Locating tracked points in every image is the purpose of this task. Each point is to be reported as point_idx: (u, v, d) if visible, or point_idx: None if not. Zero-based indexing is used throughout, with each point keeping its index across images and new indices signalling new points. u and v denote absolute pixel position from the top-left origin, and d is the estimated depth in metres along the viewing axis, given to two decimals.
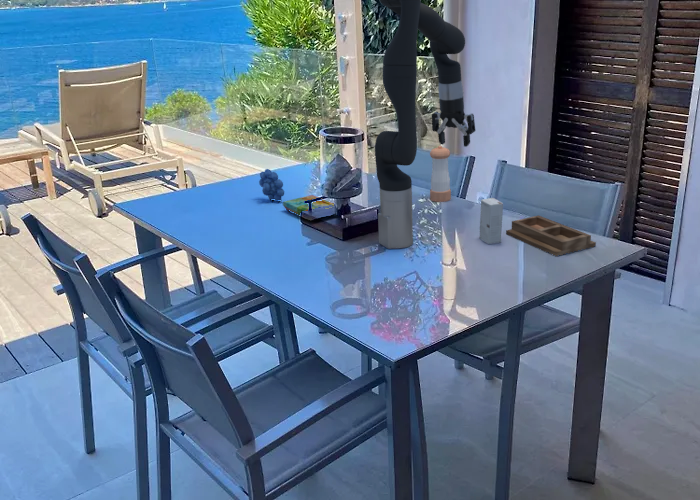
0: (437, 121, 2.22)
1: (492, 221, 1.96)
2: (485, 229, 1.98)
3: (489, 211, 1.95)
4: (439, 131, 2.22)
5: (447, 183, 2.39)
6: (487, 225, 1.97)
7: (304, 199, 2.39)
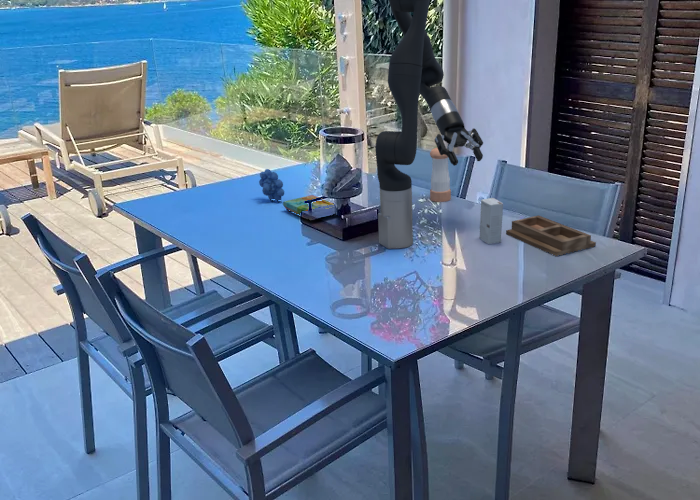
0: None
1: (492, 221, 1.96)
2: (485, 229, 1.98)
3: (489, 211, 1.95)
4: (451, 149, 2.03)
5: (447, 183, 2.39)
6: (487, 225, 1.97)
7: (304, 199, 2.39)
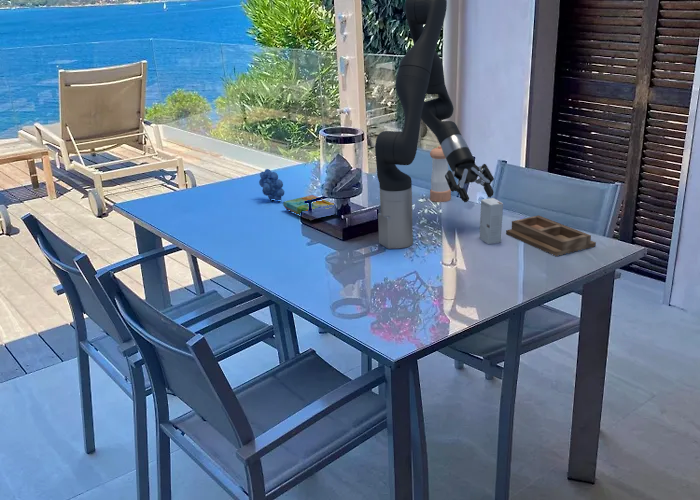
0: None
1: (492, 221, 1.96)
2: (485, 229, 1.98)
3: (489, 211, 1.95)
4: (461, 185, 2.01)
5: (447, 183, 2.39)
6: (487, 225, 1.97)
7: (304, 199, 2.39)
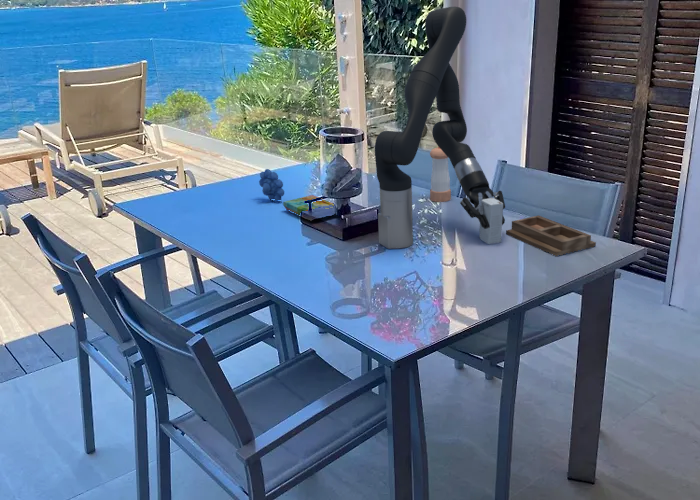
0: None
1: (493, 221, 1.96)
2: (486, 229, 1.98)
3: (489, 211, 1.95)
4: (481, 211, 1.97)
5: (447, 183, 2.39)
6: None
7: (304, 199, 2.39)
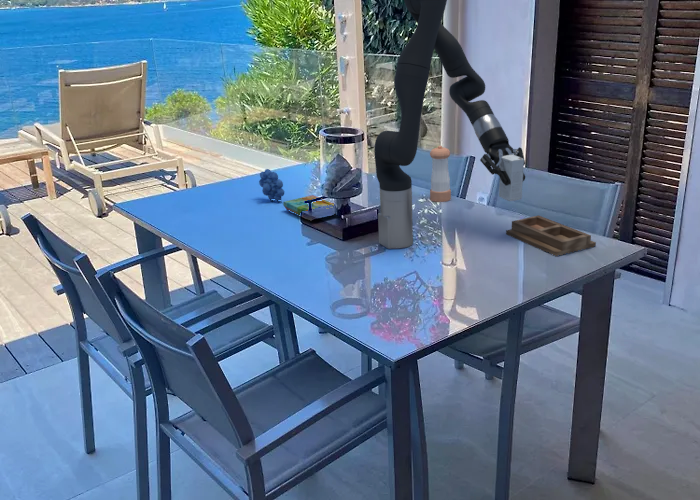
0: None
1: (514, 177, 1.93)
2: (506, 186, 1.96)
3: (510, 168, 1.93)
4: (502, 168, 1.94)
5: (447, 183, 2.39)
6: None
7: (304, 199, 2.39)
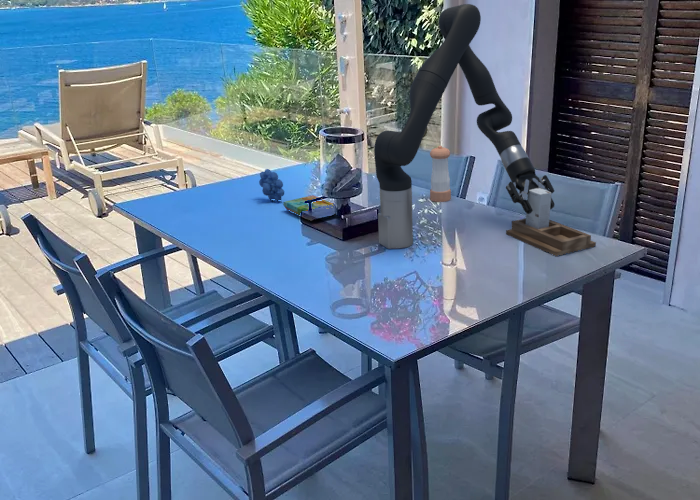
0: None
1: (541, 210, 1.98)
2: (534, 218, 2.00)
3: (538, 201, 1.97)
4: (524, 197, 1.98)
5: (447, 183, 2.39)
6: (536, 215, 1.99)
7: (304, 199, 2.39)
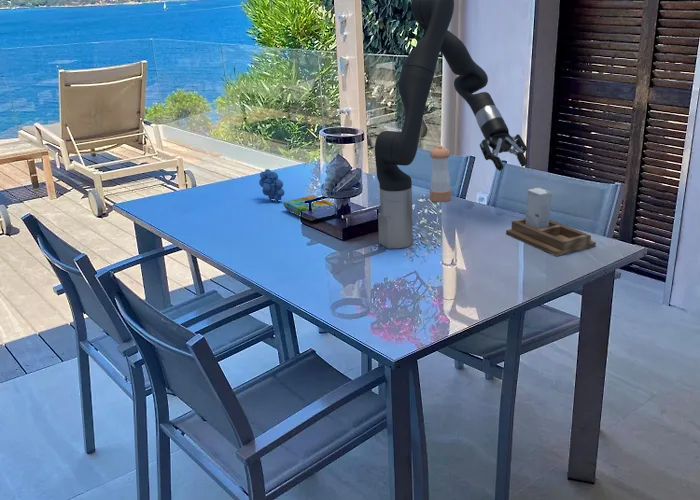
0: None
1: (541, 210, 1.98)
2: (534, 218, 2.00)
3: (538, 201, 1.97)
4: (496, 154, 2.06)
5: (447, 183, 2.39)
6: (536, 215, 1.99)
7: (305, 199, 2.38)
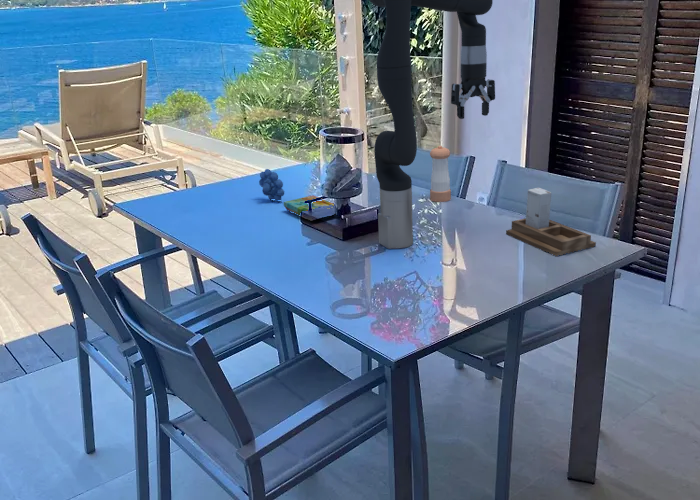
0: None
1: (541, 210, 1.98)
2: (534, 218, 2.00)
3: (538, 201, 1.97)
4: (463, 103, 2.03)
5: (447, 183, 2.39)
6: (536, 215, 1.99)
7: (305, 199, 2.38)
